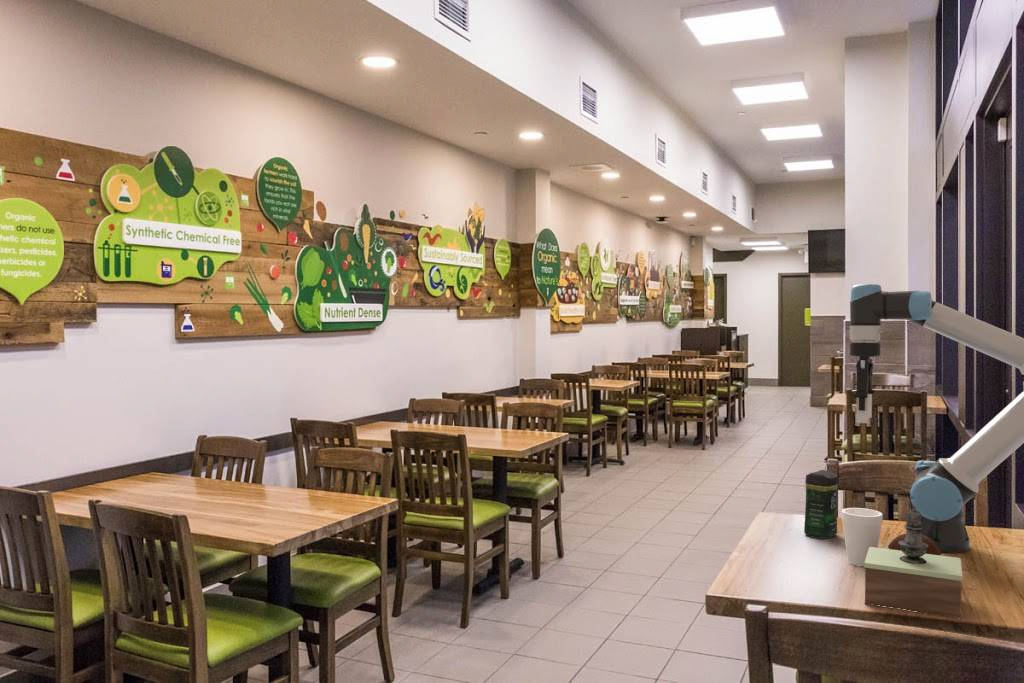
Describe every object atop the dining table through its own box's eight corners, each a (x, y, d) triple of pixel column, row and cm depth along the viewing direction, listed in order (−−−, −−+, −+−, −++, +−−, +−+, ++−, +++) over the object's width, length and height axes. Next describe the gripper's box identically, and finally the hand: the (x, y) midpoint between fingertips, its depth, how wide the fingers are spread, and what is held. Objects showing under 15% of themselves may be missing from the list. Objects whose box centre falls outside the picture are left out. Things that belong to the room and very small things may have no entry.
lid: (962, 583, 161) (962, 576, 160) (864, 570, 169) (864, 562, 169) (960, 564, 174) (960, 556, 174) (869, 552, 183) (869, 545, 183)
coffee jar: (828, 541, 218) (829, 475, 218) (800, 535, 224) (801, 471, 223) (841, 534, 225) (842, 470, 225) (814, 529, 231) (814, 466, 230)
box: (960, 619, 161) (961, 580, 161) (864, 604, 169) (865, 567, 169) (959, 598, 173) (959, 562, 173) (869, 585, 182) (870, 551, 181)
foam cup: (885, 569, 193) (886, 517, 193) (846, 567, 195) (846, 515, 194) (876, 558, 202) (876, 508, 202) (838, 556, 204) (838, 507, 204)
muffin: (916, 586, 181) (917, 543, 181) (877, 572, 191) (877, 531, 191) (952, 579, 186) (952, 538, 185) (911, 566, 196) (912, 527, 196)
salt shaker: (926, 566, 167) (928, 510, 167) (896, 561, 170) (897, 506, 170) (929, 559, 172) (930, 505, 172) (899, 554, 175) (901, 501, 175)
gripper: (877, 342, 198) (876, 426, 199) (883, 340, 220) (882, 416, 221) (845, 342, 202) (844, 424, 202) (854, 340, 224) (853, 414, 224)
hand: (864, 420), depth 211 cm, fingers open, 13 cm apart
